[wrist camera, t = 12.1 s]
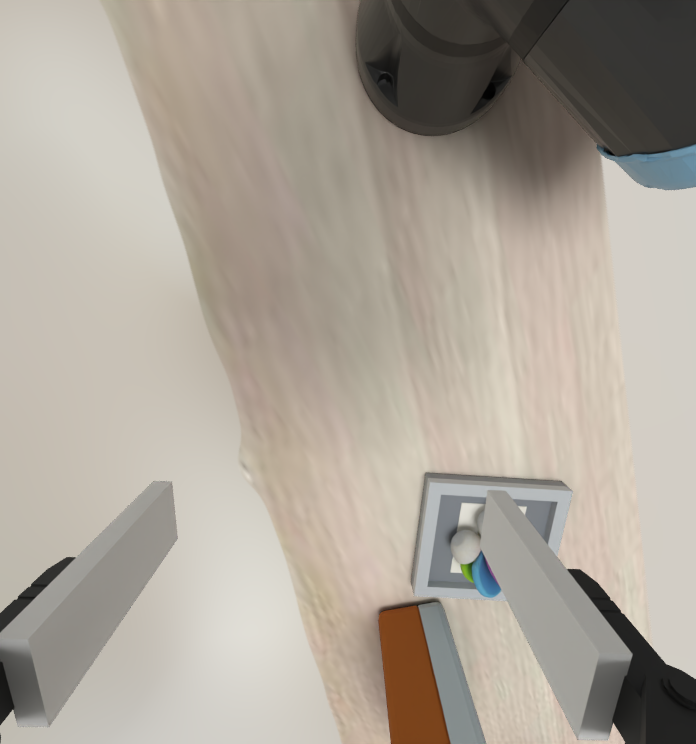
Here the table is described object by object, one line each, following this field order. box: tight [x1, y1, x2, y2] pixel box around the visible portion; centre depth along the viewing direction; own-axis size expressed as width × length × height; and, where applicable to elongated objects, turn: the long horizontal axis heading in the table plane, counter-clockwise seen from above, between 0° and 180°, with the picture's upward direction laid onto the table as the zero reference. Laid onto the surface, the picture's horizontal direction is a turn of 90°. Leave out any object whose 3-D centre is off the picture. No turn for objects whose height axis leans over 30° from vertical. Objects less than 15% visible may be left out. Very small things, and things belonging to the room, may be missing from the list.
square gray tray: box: [411, 473, 573, 601], centre depth 43 cm, size 16×17×2 cm
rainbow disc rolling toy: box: [451, 510, 502, 598], centre depth 40 cm, size 8×10×7 cm
